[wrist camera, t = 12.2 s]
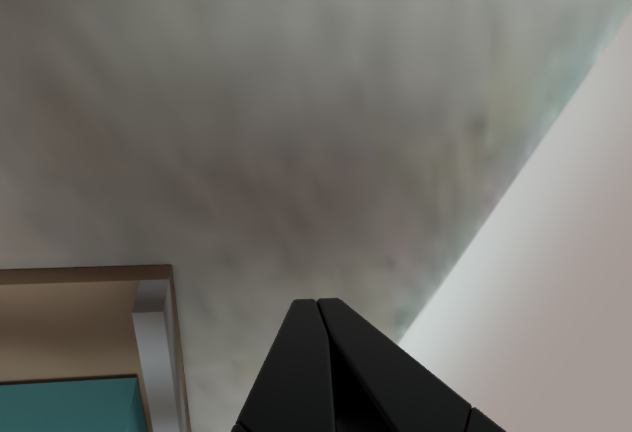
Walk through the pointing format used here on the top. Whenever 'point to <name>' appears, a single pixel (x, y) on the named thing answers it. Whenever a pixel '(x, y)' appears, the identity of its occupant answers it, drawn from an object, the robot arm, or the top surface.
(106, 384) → the teal tall block
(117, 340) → the mount
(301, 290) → the top surface
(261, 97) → the top surface
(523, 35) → the top surface
